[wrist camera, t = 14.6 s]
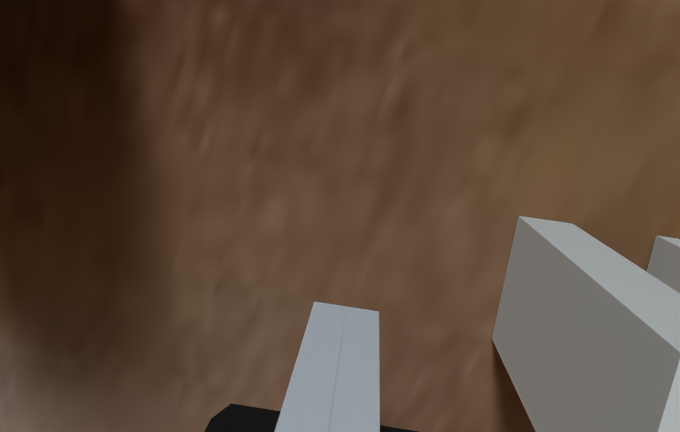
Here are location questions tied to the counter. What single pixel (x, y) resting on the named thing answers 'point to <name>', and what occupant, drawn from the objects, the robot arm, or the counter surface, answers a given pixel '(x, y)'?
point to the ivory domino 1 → (587, 334)
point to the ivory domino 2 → (666, 261)
